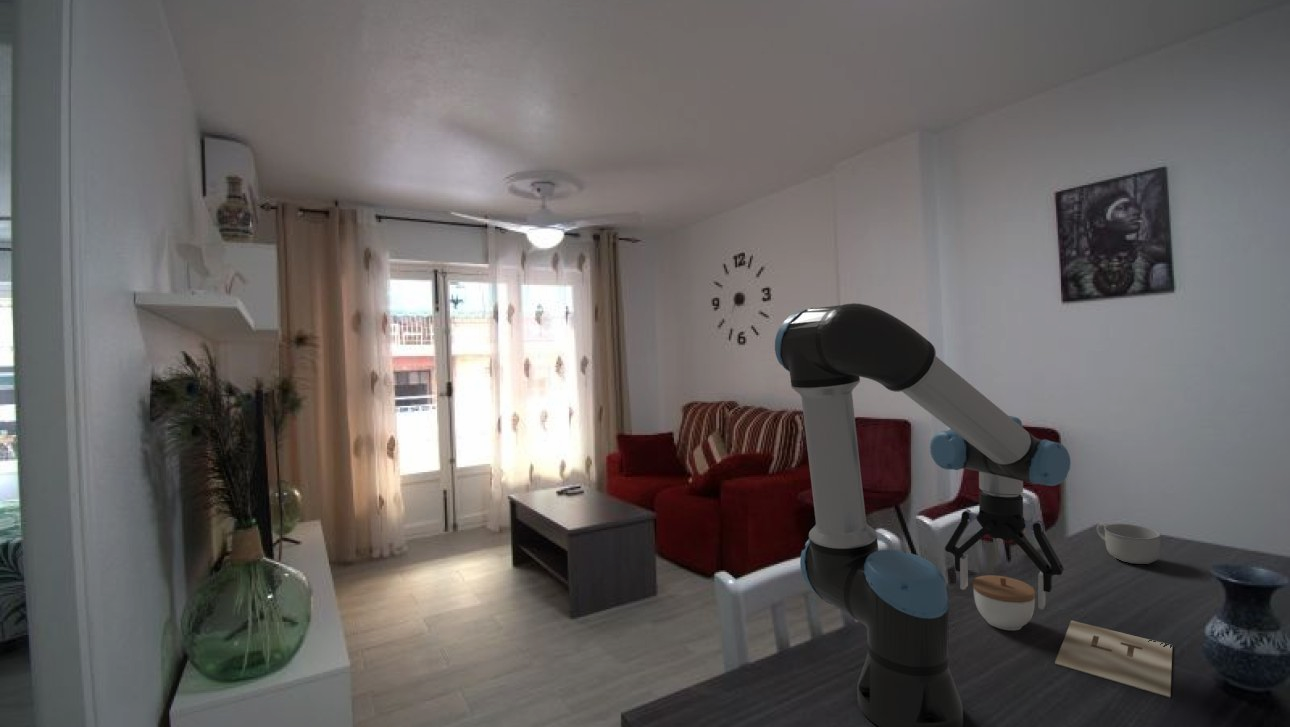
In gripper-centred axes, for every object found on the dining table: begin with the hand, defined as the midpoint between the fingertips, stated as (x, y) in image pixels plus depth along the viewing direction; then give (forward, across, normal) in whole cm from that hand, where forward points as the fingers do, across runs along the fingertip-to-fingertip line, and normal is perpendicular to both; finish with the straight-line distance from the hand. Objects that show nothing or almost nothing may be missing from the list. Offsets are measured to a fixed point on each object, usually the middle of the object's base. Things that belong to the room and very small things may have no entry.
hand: (1001, 596), depth 115 cm
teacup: (+4, -16, -57) cm, 59 cm away
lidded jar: (+6, 0, -1) cm, 6 cm away
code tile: (+5, -18, 0) cm, 19 cm away
